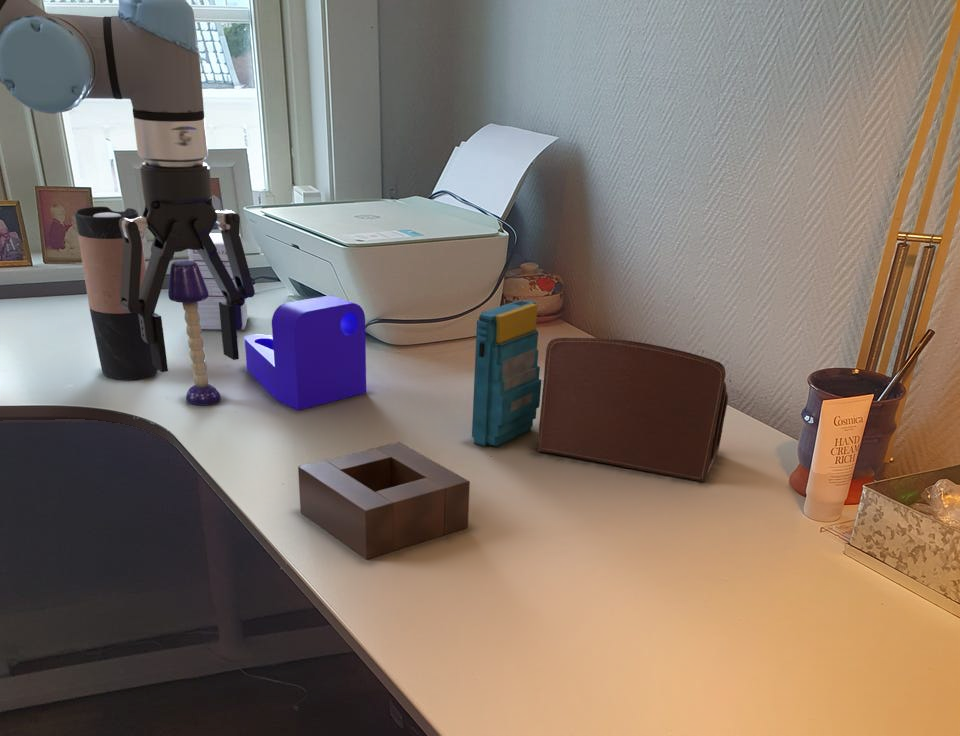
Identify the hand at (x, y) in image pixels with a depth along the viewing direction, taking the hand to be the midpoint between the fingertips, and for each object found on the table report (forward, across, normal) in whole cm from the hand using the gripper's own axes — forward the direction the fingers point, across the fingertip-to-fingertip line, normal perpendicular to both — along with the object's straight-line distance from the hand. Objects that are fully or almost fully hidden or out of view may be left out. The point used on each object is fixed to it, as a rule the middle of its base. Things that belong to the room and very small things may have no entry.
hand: (196, 362), depth 122 cm
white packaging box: (+5, +18, +30) cm, 35 cm away
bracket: (+5, +13, 0) cm, 14 cm away
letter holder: (+5, +34, -42) cm, 54 cm away
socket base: (+5, 0, -41) cm, 41 cm away
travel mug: (+5, -3, +15) cm, 16 cm away
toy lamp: (+5, 0, 0) cm, 5 cm away
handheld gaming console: (+5, +25, -30) cm, 39 cm away
